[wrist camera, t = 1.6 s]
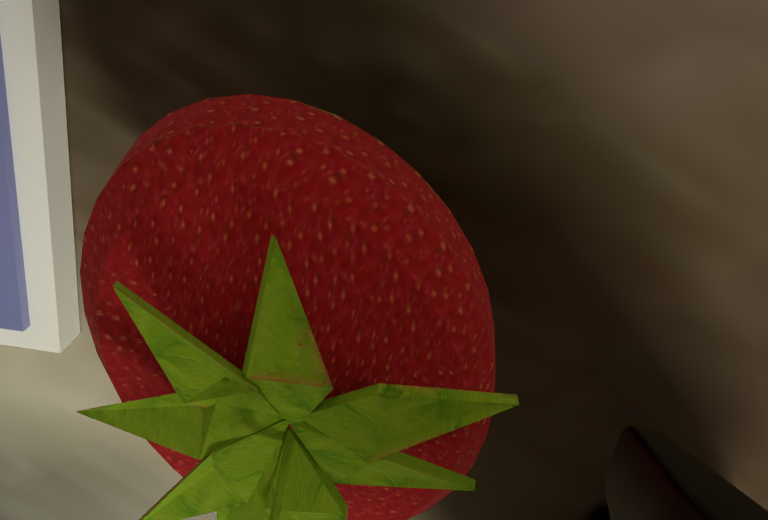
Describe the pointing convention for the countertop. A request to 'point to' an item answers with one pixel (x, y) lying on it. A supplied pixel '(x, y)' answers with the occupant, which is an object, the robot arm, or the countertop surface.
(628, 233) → the countertop surface
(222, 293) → the strawberry
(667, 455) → the robot arm
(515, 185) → the countertop surface
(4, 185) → the ink pad
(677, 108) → the countertop surface
